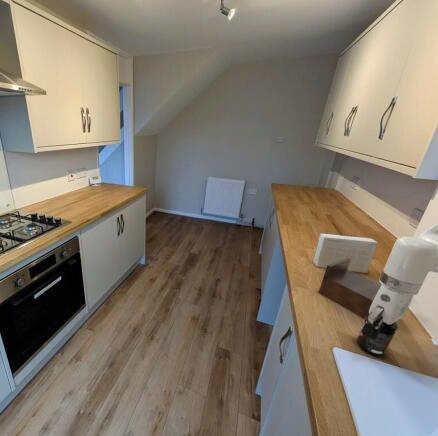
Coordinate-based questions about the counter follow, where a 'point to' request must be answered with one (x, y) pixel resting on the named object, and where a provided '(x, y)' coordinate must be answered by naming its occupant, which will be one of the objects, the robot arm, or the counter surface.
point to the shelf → (348, 288)
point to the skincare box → (345, 251)
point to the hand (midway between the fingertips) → (376, 330)
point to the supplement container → (382, 340)
